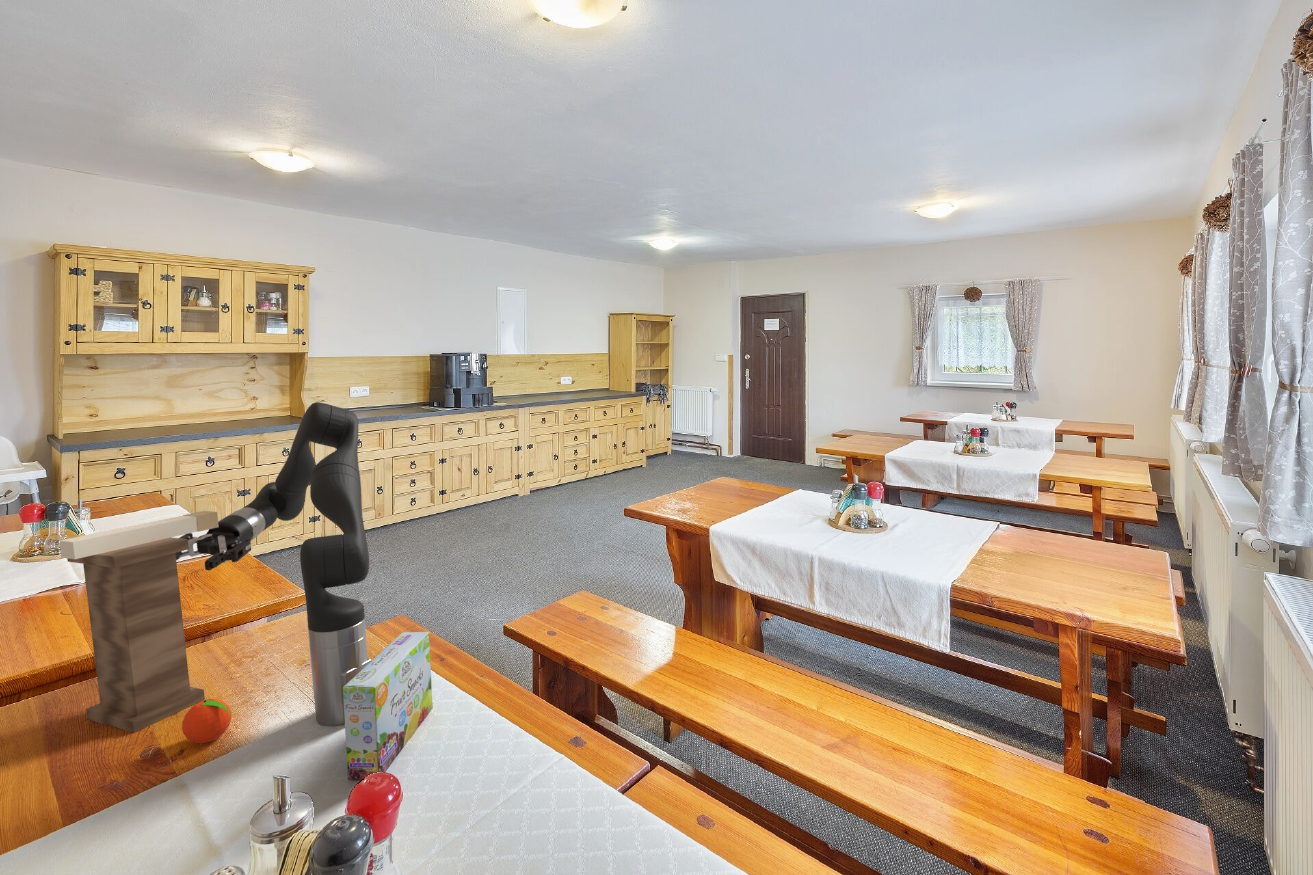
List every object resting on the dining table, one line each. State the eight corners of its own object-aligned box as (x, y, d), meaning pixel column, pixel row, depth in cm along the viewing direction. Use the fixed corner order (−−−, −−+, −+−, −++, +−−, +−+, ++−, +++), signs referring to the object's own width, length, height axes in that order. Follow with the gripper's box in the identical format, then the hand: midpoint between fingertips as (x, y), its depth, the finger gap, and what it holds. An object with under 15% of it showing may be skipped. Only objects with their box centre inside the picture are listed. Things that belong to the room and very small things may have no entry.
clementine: (248, 729, 109) (244, 690, 109) (217, 752, 102) (213, 711, 102) (207, 728, 110) (203, 689, 109) (173, 751, 103) (168, 710, 103)
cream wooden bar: (218, 527, 128) (217, 511, 127) (75, 559, 105) (73, 541, 105) (205, 525, 129) (203, 510, 129) (61, 558, 107) (58, 539, 107)
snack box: (382, 781, 94) (375, 686, 92) (346, 782, 94) (338, 687, 92) (435, 707, 115) (430, 629, 113) (405, 708, 115) (400, 630, 114)
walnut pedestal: (204, 699, 120) (187, 539, 117) (134, 732, 109) (113, 556, 106) (159, 688, 126) (141, 534, 123) (87, 719, 114) (66, 550, 111)
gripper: (204, 510, 139) (147, 543, 123) (268, 517, 139) (219, 551, 124) (207, 541, 141) (151, 577, 125) (270, 547, 141) (222, 584, 126)
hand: (185, 564), depth 124 cm, fingers open, 8 cm apart
